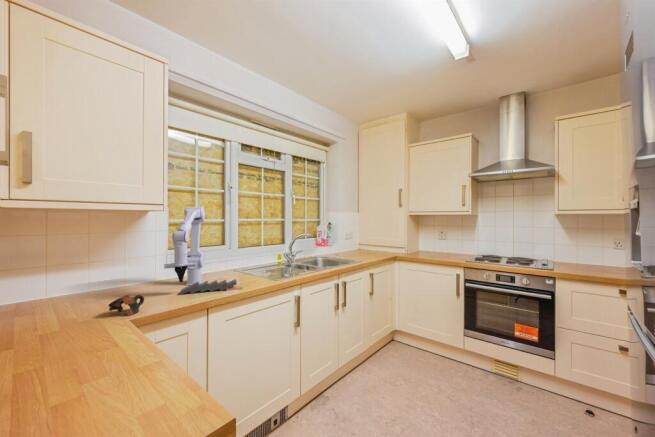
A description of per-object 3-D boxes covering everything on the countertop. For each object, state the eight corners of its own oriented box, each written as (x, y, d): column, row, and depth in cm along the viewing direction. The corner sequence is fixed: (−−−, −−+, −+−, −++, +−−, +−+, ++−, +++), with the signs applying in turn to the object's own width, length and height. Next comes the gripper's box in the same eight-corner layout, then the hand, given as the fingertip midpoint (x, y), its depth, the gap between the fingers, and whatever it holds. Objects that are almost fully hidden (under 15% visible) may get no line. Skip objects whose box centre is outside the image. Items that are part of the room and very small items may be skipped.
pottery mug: (121, 320, 106) (110, 301, 106) (113, 326, 111) (102, 308, 111) (152, 303, 116) (142, 286, 116) (143, 309, 121) (133, 293, 121)
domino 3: (200, 287, 146) (216, 279, 148) (201, 290, 146) (217, 282, 149) (199, 289, 141) (216, 282, 144) (201, 292, 141) (217, 285, 144)
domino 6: (225, 286, 150) (242, 284, 153) (225, 289, 150) (242, 287, 153) (226, 288, 145) (243, 287, 148) (226, 291, 145) (243, 290, 148)
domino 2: (190, 288, 144) (207, 280, 147) (192, 291, 144) (208, 283, 147) (189, 290, 139) (206, 282, 142) (191, 293, 139) (208, 285, 142)
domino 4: (209, 286, 147) (225, 279, 150) (210, 289, 148) (226, 282, 150) (209, 289, 143) (225, 281, 145) (210, 291, 143) (227, 284, 146)
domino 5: (220, 285, 149) (235, 279, 151) (221, 288, 149) (237, 281, 151) (219, 288, 144) (235, 281, 146) (220, 291, 144) (236, 284, 146)
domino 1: (181, 289, 142) (198, 281, 145) (183, 292, 143) (199, 284, 145) (180, 291, 138) (197, 283, 140) (181, 294, 138) (199, 286, 141)
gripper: (162, 256, 134) (163, 284, 134) (196, 254, 139) (196, 282, 139) (165, 254, 140) (165, 281, 140) (197, 253, 145) (197, 279, 146)
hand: (181, 281), depth 140 cm, fingers closed
